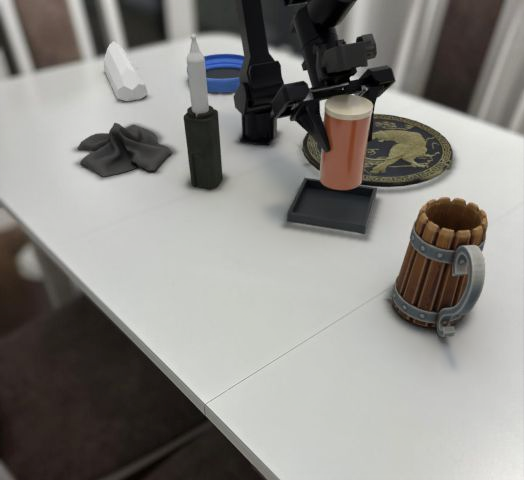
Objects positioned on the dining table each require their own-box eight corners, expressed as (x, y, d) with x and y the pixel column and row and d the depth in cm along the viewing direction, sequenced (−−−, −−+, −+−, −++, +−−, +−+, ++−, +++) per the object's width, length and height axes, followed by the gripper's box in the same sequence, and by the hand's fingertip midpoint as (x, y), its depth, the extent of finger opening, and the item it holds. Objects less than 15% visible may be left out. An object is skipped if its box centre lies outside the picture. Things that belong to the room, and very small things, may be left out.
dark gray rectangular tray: (286, 226, 90) (287, 213, 88) (304, 189, 98) (304, 177, 96) (363, 238, 87) (365, 225, 85) (375, 200, 95) (377, 187, 93)
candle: (224, 177, 101) (214, 30, 83) (214, 190, 98) (201, 41, 80) (200, 172, 103) (185, 27, 84) (189, 185, 99) (171, 37, 81)
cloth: (179, 168, 104) (175, 138, 99) (82, 184, 100) (74, 153, 96) (159, 121, 118) (155, 93, 114) (74, 133, 115) (67, 104, 110)
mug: (382, 283, 79) (400, 193, 68) (451, 278, 80) (480, 189, 69) (411, 360, 69) (438, 269, 58) (490, 354, 69) (531, 263, 58)
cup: (314, 186, 85) (320, 111, 76) (324, 165, 90) (330, 92, 81) (358, 193, 84) (369, 117, 75) (365, 171, 88) (376, 97, 79)
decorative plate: (291, 174, 98) (313, 107, 118) (291, 183, 99) (312, 115, 119) (457, 190, 94) (450, 118, 114) (454, 200, 95) (448, 127, 115)
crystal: (92, 55, 137) (107, 88, 121) (113, 36, 136) (131, 68, 120) (112, 79, 142) (129, 114, 127) (132, 61, 141) (152, 95, 126)
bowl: (258, 94, 128) (258, 79, 125) (184, 94, 128) (182, 79, 126) (259, 67, 140) (259, 52, 138) (191, 67, 141) (190, 53, 138)
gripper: (281, 21, 70) (314, 138, 71) (400, 3, 75) (429, 112, 76) (258, 66, 80) (287, 166, 82) (363, 47, 85) (390, 142, 87)
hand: (349, 146), depth 81 cm, fingers closed on cup, 7 cm apart
